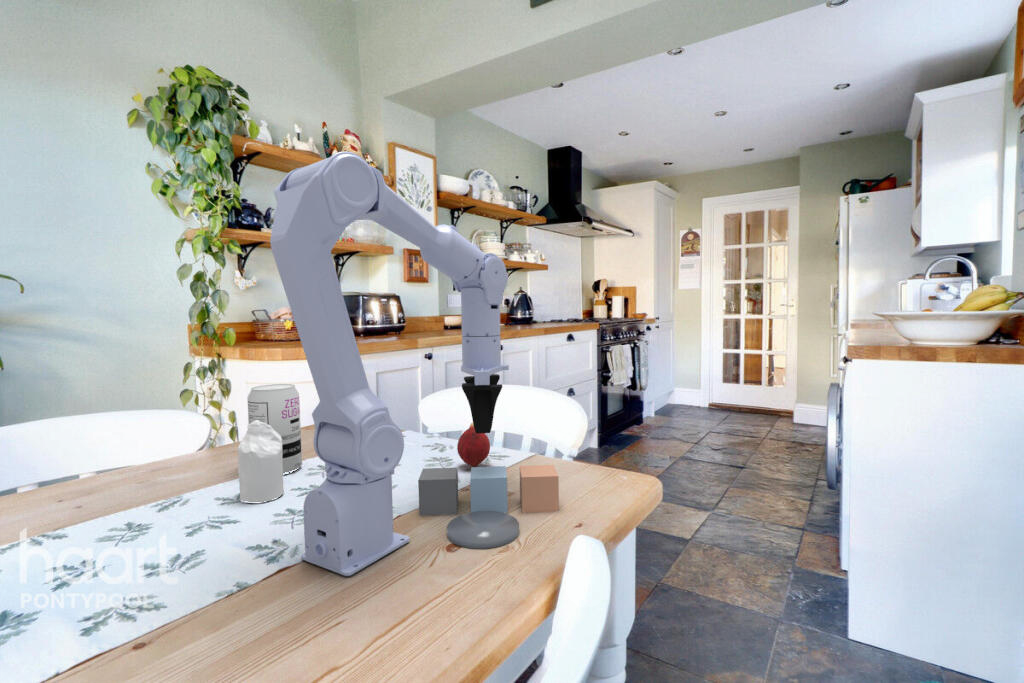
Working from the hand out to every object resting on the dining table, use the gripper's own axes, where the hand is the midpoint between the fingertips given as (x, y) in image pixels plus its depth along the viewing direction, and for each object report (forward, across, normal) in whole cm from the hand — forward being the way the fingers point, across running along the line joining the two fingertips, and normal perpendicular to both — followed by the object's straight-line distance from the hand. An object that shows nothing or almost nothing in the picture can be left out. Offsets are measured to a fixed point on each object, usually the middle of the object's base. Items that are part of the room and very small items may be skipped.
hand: (482, 426), depth 74 cm
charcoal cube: (+10, -4, +6) cm, 13 cm away
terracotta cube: (+10, -5, -8) cm, 14 cm away
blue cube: (+10, -5, -1) cm, 11 cm away
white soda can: (+11, +16, +36) cm, 41 cm away
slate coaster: (+10, -13, 0) cm, 16 cm away
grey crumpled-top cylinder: (+11, +2, +34) cm, 35 cm away
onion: (+10, +13, +2) cm, 17 cm away
